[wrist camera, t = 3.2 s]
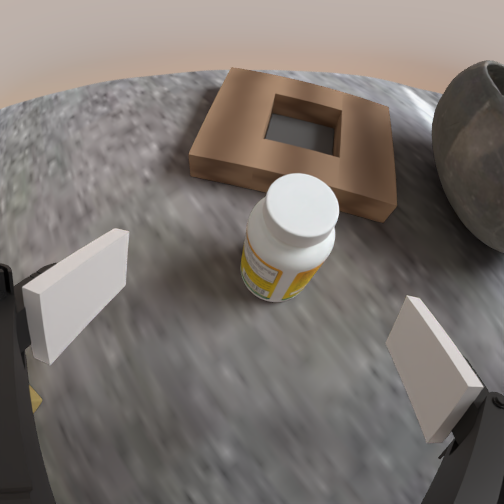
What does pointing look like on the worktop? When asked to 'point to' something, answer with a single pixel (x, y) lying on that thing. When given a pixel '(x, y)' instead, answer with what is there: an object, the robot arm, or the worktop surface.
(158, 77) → the worktop surface
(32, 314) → the robot arm
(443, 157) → the bowl
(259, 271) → the supplement bottle
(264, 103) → the well board
